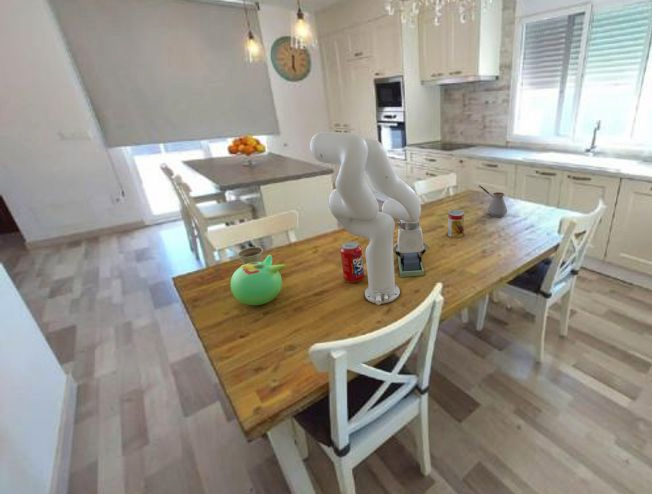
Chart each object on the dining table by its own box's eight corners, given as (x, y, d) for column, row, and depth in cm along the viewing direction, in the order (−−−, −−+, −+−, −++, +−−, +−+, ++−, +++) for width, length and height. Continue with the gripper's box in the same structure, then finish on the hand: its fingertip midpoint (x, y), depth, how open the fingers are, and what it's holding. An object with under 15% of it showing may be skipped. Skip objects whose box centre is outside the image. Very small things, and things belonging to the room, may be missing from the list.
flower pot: (267, 262, 140) (263, 245, 136) (266, 273, 132) (262, 254, 128) (243, 267, 137) (239, 249, 133) (241, 277, 129) (236, 258, 125)
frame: (424, 275, 128) (424, 270, 128) (400, 277, 127) (400, 272, 127) (417, 250, 149) (417, 246, 148) (397, 251, 148) (397, 247, 147)
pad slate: (419, 270, 130) (419, 261, 128) (404, 271, 129) (404, 263, 127) (417, 259, 138) (416, 251, 136) (403, 260, 137) (402, 252, 136)
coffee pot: (510, 215, 189) (513, 190, 183) (498, 219, 183) (500, 194, 176) (483, 206, 204) (484, 183, 198) (470, 210, 198) (472, 186, 192)
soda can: (342, 275, 129) (338, 242, 123) (362, 272, 131) (358, 239, 125) (345, 285, 122) (341, 250, 116) (366, 281, 125) (362, 247, 118)
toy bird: (229, 298, 116) (218, 262, 110) (276, 280, 127) (268, 247, 121) (246, 321, 104) (235, 282, 98) (296, 299, 115) (288, 263, 109)
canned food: (466, 236, 162) (467, 214, 157) (452, 238, 160) (452, 216, 155) (458, 230, 169) (459, 209, 164) (445, 233, 166) (445, 211, 161)
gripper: (387, 229, 121) (390, 270, 129) (432, 226, 123) (432, 267, 131) (387, 222, 128) (390, 261, 136) (429, 219, 130) (430, 258, 137)
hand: (411, 264), depth 133 cm, fingers closed on pad slate, 5 cm apart
